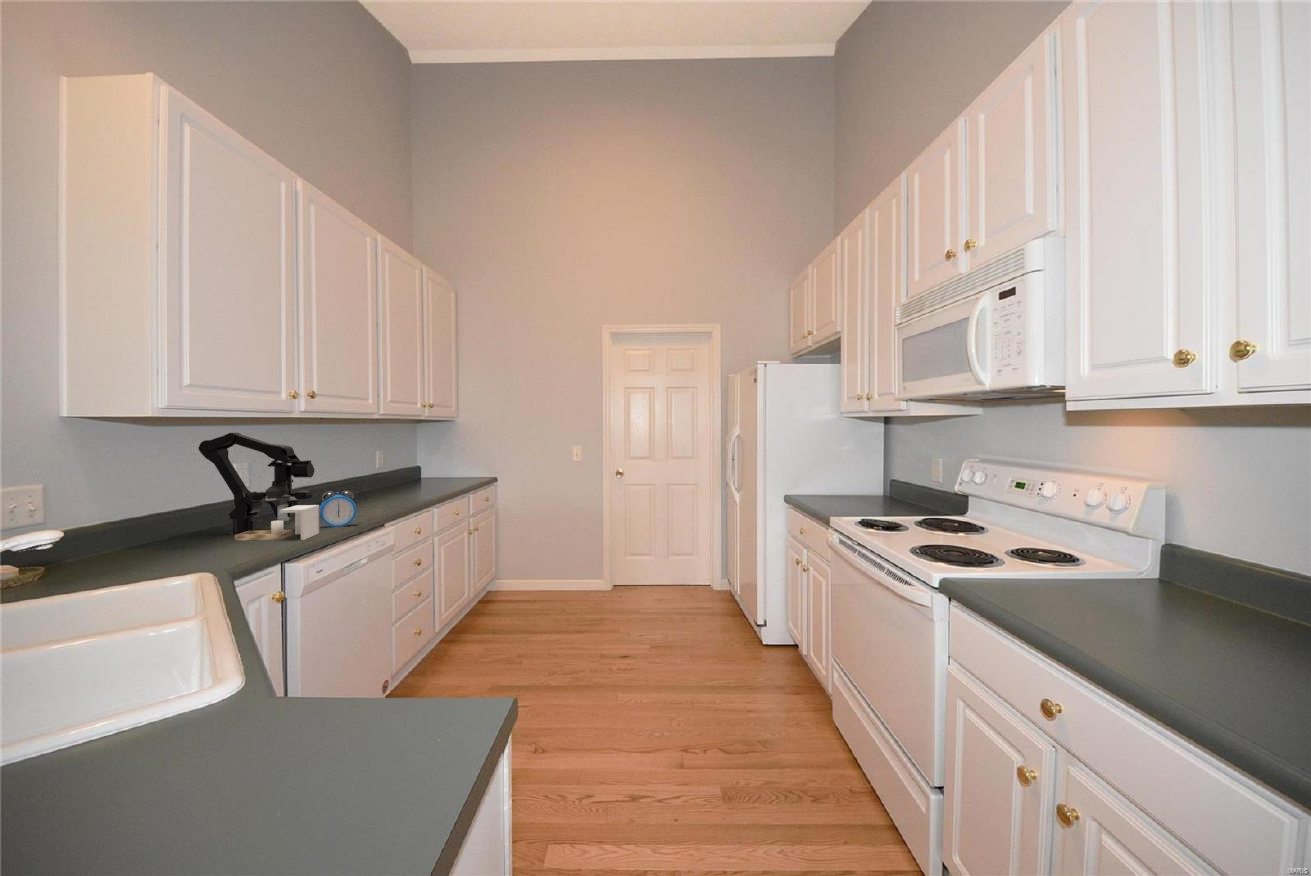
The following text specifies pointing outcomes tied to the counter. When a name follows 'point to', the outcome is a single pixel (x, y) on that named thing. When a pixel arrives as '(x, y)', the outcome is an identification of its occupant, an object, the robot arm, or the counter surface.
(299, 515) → the white l-shaped bracket
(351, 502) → the alarm clock
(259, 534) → the tray
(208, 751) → the counter surface
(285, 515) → the grey rounded cylinder
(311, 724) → the counter surface
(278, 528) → the white rounded cylinder
